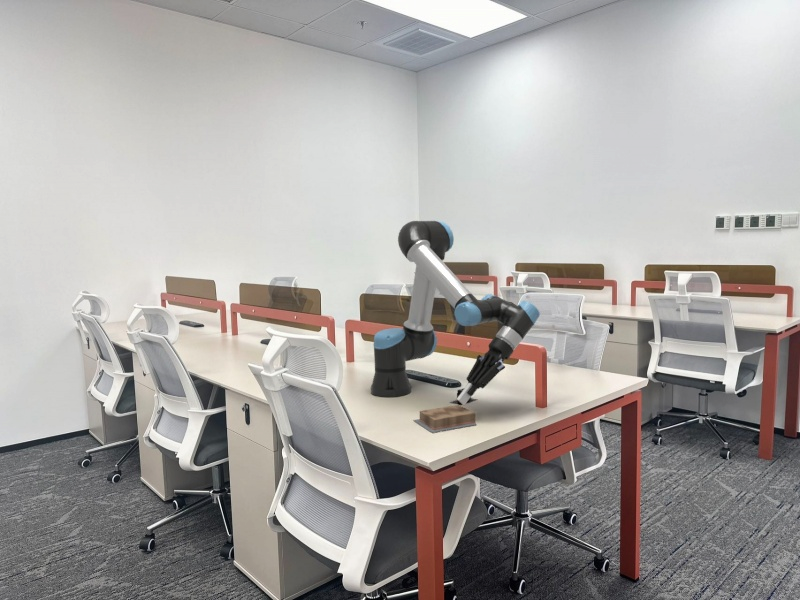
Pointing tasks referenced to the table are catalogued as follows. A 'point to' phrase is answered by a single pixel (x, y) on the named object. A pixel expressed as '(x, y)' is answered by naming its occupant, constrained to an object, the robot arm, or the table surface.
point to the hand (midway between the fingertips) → (460, 402)
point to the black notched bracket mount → (458, 401)
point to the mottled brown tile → (447, 417)
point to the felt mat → (443, 428)
